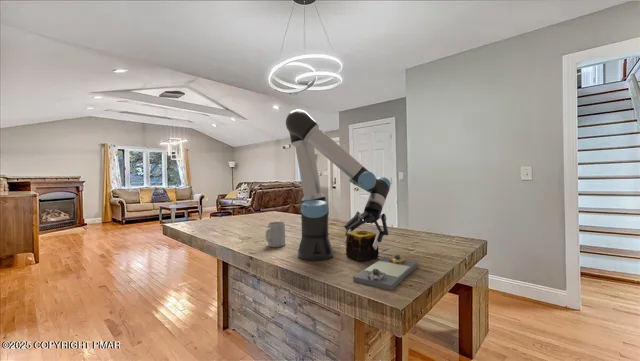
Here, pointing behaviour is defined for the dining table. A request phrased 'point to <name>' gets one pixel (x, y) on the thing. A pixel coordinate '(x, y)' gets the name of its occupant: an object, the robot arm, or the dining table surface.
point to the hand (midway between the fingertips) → (359, 245)
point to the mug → (275, 234)
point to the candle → (361, 245)
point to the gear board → (386, 272)
